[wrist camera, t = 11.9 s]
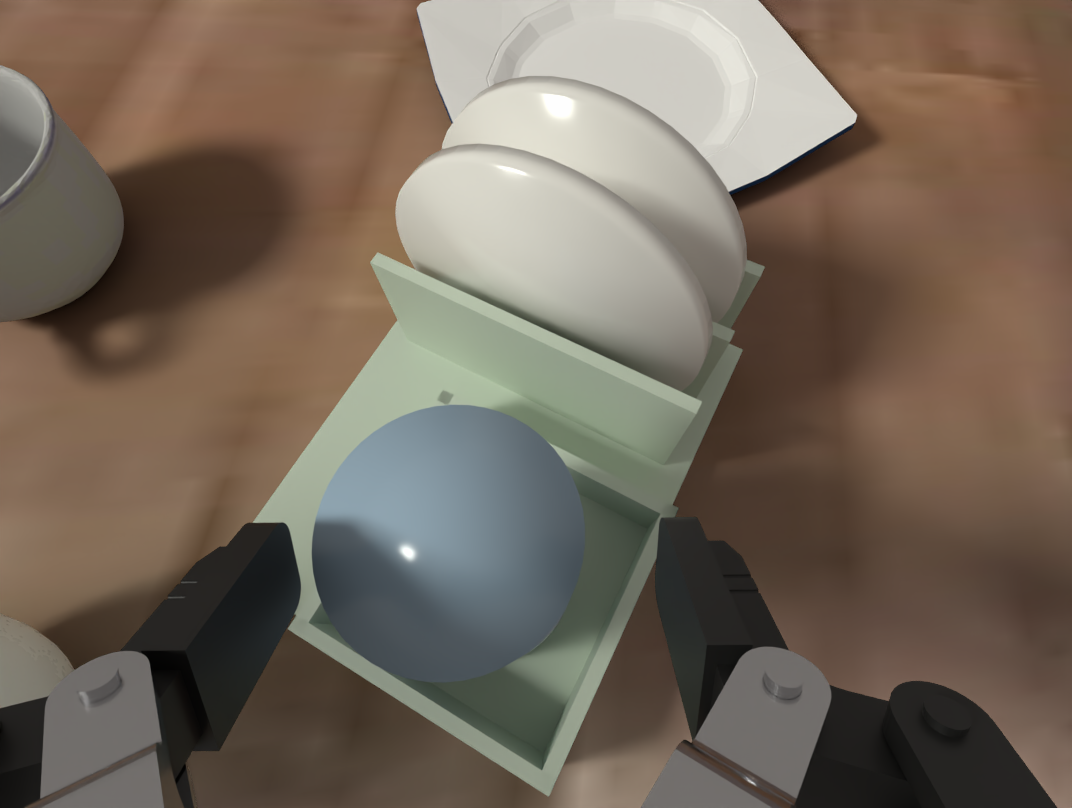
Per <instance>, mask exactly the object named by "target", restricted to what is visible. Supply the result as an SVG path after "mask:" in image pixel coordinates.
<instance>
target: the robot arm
mask: <svg viewBox="0 0 1072 808" xmlns="http://www.w3.org/2000/svg"><path fill="white" fill-rule="evenodd" d="M655 589H656V599H657V605H658V609H659V613H660V617H661V621H662V625H663V628H664V632H665V636H666V640H667V644H668V648H669V652H670V655H671V659H672V663H673V667H674V671H675V675H676V679H677V682H678V686H679V690H680V694H681V698H682V702H683V706H684V710H685V713H686V717H687V721H688V725H689V729H690V733H691V737H692V740H693V742H692V743H690V742H688V741H687V740H683V741H682V742H681V743H680V744H679V745H678V746H677V748H676V749H675V751H674V752H673V754H672V755H671V757H670V759H669V761H668V762H667V764H666V766H665V767H664V769H663V771H662V772H661V774H660V776H659V778H658V779H657V781H656V783H655V784H654V786H653V788H652V790H651V791H650V793H649V795H648V796H647V798H646V800H645V802H644V803H643V805H642V807H641V808H1057V807H1056V805H1055V804H1054V803H1053V801H1052V800H1051V799H1050V797H1049V796H1048V794H1047V793H1046V792H1045V790H1044V789H1043V788H1042V786H1041V785H1040V784H1039V782H1038V781H1037V780H1036V778H1035V777H1034V775H1033V774H1032V773H1031V771H1030V770H1029V769H1028V767H1027V766H1026V765H1025V763H1024V762H1023V760H1022V759H1021V758H1020V756H1019V755H1018V754H1017V752H1016V751H1015V750H1014V748H1013V747H1012V746H1011V744H1010V743H1009V741H1008V740H1007V739H1006V737H1005V736H1004V735H1003V733H1002V732H1001V731H1000V729H999V728H998V727H997V725H996V724H995V723H994V721H993V720H992V719H991V718H990V717H989V715H988V714H987V713H986V712H984V711H983V710H982V709H981V708H980V707H979V706H978V705H976V704H975V703H974V702H972V701H971V700H969V699H968V698H966V697H965V696H963V695H961V694H959V693H958V692H956V691H954V690H951V689H949V688H947V687H944V686H941V685H938V684H934V683H930V682H923V681H910V682H905V683H902V684H900V685H898V686H897V687H896V688H894V690H893V691H892V693H891V696H890V699H889V701H885V700H881V699H877V698H873V697H869V696H865V695H862V694H858V693H854V692H850V691H846V690H843V689H839V688H836V687H834V686H831V685H829V684H828V682H827V680H826V678H825V677H824V675H823V674H822V672H821V671H820V670H819V669H818V668H817V667H816V666H815V665H813V664H812V663H811V662H810V661H808V660H807V659H805V658H804V657H802V656H800V655H798V654H796V653H794V652H791V651H789V650H788V648H787V646H786V644H785V642H784V640H783V638H782V636H781V634H780V632H779V630H778V628H777V626H776V624H775V622H774V620H773V618H772V616H771V614H770V612H769V610H768V608H767V606H766V604H765V602H764V600H763V598H762V596H761V594H760V593H758V588H757V586H756V584H755V582H754V580H753V578H751V574H750V572H749V570H748V568H747V566H746V564H745V562H744V560H743V558H742V556H741V555H739V554H738V553H737V552H736V551H735V550H734V549H733V548H731V547H730V546H729V545H728V544H727V543H726V542H724V541H707V538H706V536H705V534H704V531H703V529H702V527H701V524H700V522H699V520H698V519H697V517H662V518H661V519H660V523H659V532H658V546H657V559H656V573H655ZM300 595H301V580H300V575H299V570H298V566H297V561H296V557H295V552H294V548H293V543H292V539H291V534H290V530H289V528H288V526H287V525H286V524H285V523H283V522H275V523H247V524H245V525H244V526H243V527H242V528H241V529H240V531H239V532H238V533H237V534H236V535H235V537H234V538H233V539H232V540H231V541H230V543H229V544H228V545H227V546H226V547H219V548H217V549H216V550H214V551H213V552H211V553H210V554H208V555H207V556H205V557H204V558H203V559H201V560H200V561H198V562H197V563H196V564H195V565H194V566H193V567H192V568H191V570H190V571H189V572H188V573H187V574H186V575H185V577H184V578H183V579H182V580H181V584H178V585H177V586H176V587H175V588H174V589H173V590H172V592H171V593H170V594H169V595H168V599H167V600H164V601H163V602H162V603H161V604H160V605H159V607H158V608H157V609H156V610H155V611H154V612H153V614H152V615H151V616H150V617H149V618H148V619H147V621H146V622H145V623H144V624H143V625H142V626H141V628H140V629H139V630H138V631H137V632H136V633H135V634H134V636H133V637H132V638H131V639H130V640H129V641H128V643H127V644H126V645H125V646H124V647H123V648H122V650H121V651H120V652H114V653H111V654H107V655H104V656H101V657H98V658H96V659H94V660H91V661H89V662H87V663H86V664H84V665H82V666H80V667H79V668H77V669H75V670H74V671H72V672H71V673H70V674H69V675H67V676H66V677H65V678H64V679H63V680H61V681H60V682H59V683H58V684H57V686H56V687H55V688H54V689H53V690H52V692H51V693H50V695H49V696H47V697H43V698H39V699H35V700H31V701H27V702H23V703H19V704H15V705H11V706H7V707H3V708H0V808H198V807H197V802H196V797H195V792H194V787H193V782H192V777H191V773H190V770H189V767H188V765H187V762H186V761H187V759H188V757H189V756H190V754H191V752H192V751H219V750H220V748H221V746H222V745H223V743H224V741H225V739H226V737H227V735H228V734H229V732H230V730H231V728H232V726H233V725H234V723H235V721H236V719H237V717H238V715H239V714H240V712H241V710H242V708H243V706H244V705H245V703H246V701H247V699H248V697H249V695H250V694H251V692H252V690H253V688H254V686H255V684H256V683H257V681H258V679H259V677H260V675H261V674H262V672H263V670H264V668H265V666H266V664H267V663H268V661H269V659H270V657H271V655H272V654H273V652H274V650H275V648H276V646H277V644H278V643H279V641H280V639H281V637H282V635H283V633H284V632H285V630H286V628H287V626H288V624H289V623H290V621H291V619H292V617H293V615H294V613H295V612H296V610H297V607H298V604H299V600H300Z"/></svg>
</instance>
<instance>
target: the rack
mask: <svg viewBox="0 0 1072 808" xmlns="http://www.w3.org/2000/svg"><path fill="white" fill-rule="evenodd" d="M370 263H371V265H372V267H373V270H374V272H375V274H376V276H377V278H378V280H379V282H380V284H381V286H382V288H383V290H384V292H385V295H386V297H387V299H388V301H389V303H390V305H391V307H392V309H393V311H394V313H395V315H396V318H397V322H396V323H395V324H394V326H393V327H392V329H391V330H390V331H389V333H388V334H387V336H386V337H385V338H384V340H383V341H382V343H381V344H380V345H379V347H378V348H377V350H376V351H375V352H374V354H373V355H372V357H371V358H370V359H369V361H368V362H367V364H366V365H365V366H364V368H363V369H362V371H361V372H360V373H359V375H358V376H357V378H356V379H355V380H354V382H353V383H352V385H351V386H350V387H349V389H348V390H347V392H346V393H345V394H344V396H343V397H342V399H341V400H340V401H339V403H338V404H337V405H336V407H335V408H334V410H333V411H332V412H331V414H330V415H329V417H328V418H327V419H326V421H325V422H324V424H323V425H322V426H321V428H320V429H319V431H318V432H317V433H316V435H315V436H314V438H313V439H312V440H311V442H310V443H309V445H308V446H307V447H306V449H305V450H304V452H303V453H302V454H301V456H300V457H299V459H298V460H297V461H296V463H295V464H294V466H293V467H292V468H291V470H290V471H289V473H288V474H287V475H286V477H285V478H284V480H283V481H282V482H281V484H280V485H279V487H278V488H277V489H276V491H275V492H274V494H273V495H272V496H271V498H270V499H269V501H268V502H267V503H266V505H265V506H264V507H263V509H262V510H261V512H260V513H259V514H258V516H257V517H256V519H255V520H254V521H253V523H275V522H283V523H285V524H286V525H287V526H288V528H289V530H290V534H291V539H292V543H293V548H294V552H295V557H296V561H297V566H298V570H299V575H300V580H301V595H300V600H299V604H298V607H297V610H296V612H295V613H294V614H295V615H296V617H295V618H294V620H293V621H292V623H291V624H290V626H289V628H288V630H290V631H291V632H293V633H294V634H296V635H298V636H299V637H301V638H302V639H304V640H305V641H307V642H308V643H310V644H312V645H313V646H315V647H316V648H318V649H319V650H321V651H322V652H324V653H326V654H327V655H329V656H330V657H332V658H333V659H335V660H336V661H338V662H340V663H341V664H343V665H344V666H346V667H347V668H349V669H351V670H352V671H354V672H355V673H357V674H358V675H360V676H361V677H363V678H365V679H366V680H368V681H369V682H371V683H372V684H374V685H375V686H377V687H379V688H380V689H382V690H383V691H385V692H386V693H388V694H389V695H391V696H393V697H394V698H396V699H397V700H399V701H400V702H402V703H403V704H405V705H407V706H408V707H410V708H411V709H413V710H414V711H416V712H418V713H419V714H421V715H422V716H424V717H425V718H427V719H428V720H430V721H432V722H433V723H435V724H436V725H438V726H439V727H441V728H442V729H444V730H446V731H447V732H449V733H450V734H452V735H453V736H455V737H456V738H458V739H460V740H461V741H463V742H464V743H466V744H467V745H469V746H470V747H472V748H474V749H475V750H477V751H478V752H480V753H481V754H483V755H485V756H486V757H488V758H489V759H491V760H492V761H494V762H495V763H497V764H499V765H500V766H502V767H503V768H505V769H506V770H508V771H509V772H511V773H513V774H514V775H516V776H517V777H519V778H520V779H522V780H523V781H525V782H527V783H528V784H530V785H531V786H533V787H534V788H536V789H537V790H539V791H541V792H542V793H544V794H545V795H547V796H548V797H549V795H550V793H551V791H552V789H553V786H554V784H555V782H556V780H557V778H558V775H559V773H560V771H561V769H562V766H563V764H564V762H565V760H566V758H567V755H568V753H569V751H570V749H571V746H572V744H573V742H574V740H575V738H576V735H577V733H578V731H579V729H580V726H581V724H582V722H583V720H584V718H585V715H586V713H587V711H588V709H589V707H590V704H591V702H592V700H593V698H594V695H595V693H596V691H597V689H598V687H599V684H600V682H601V680H602V678H603V675H604V673H605V671H606V669H607V667H608V664H609V662H610V660H611V658H612V655H613V653H614V651H615V649H616V647H617V644H618V642H619V640H620V638H621V635H622V633H623V631H624V629H625V627H626V624H627V622H628V620H629V618H630V615H631V613H632V611H633V609H634V607H635V604H636V602H637V600H638V598H639V595H640V593H641V591H642V589H643V587H644V584H645V582H646V580H647V578H648V575H649V573H650V571H651V569H652V567H653V564H654V562H655V560H656V558H657V546H658V532H659V523H660V519H661V518H662V517H675V516H676V513H677V511H678V509H679V508H678V507H676V506H674V505H673V502H674V500H675V498H676V496H677V494H678V492H679V489H680V487H681V485H682V483H683V481H684V478H685V476H686V474H687V472H688V470H689V467H690V465H691V463H692V461H693V459H694V456H695V454H696V452H697V450H698V448H699V445H700V443H701V441H702V439H703V437H704V434H705V432H706V430H707V428H708V426H709V423H710V421H711V419H712V417H713V415H714V412H715V410H716V408H717V406H718V404H719V401H720V399H721V397H722V395H723V393H724V390H725V388H726V386H727V384H728V382H729V380H730V377H731V375H732V373H733V371H734V369H735V366H736V364H737V362H738V360H739V358H740V355H741V353H742V351H743V349H740V348H738V347H736V346H734V345H731V344H729V343H730V341H731V339H732V337H733V335H734V332H735V331H734V330H732V329H731V327H732V326H733V324H734V322H735V320H736V319H737V317H738V315H739V313H740V312H741V310H742V308H743V306H744V305H745V303H746V301H747V299H748V298H749V296H750V294H751V292H752V291H753V289H754V287H755V286H756V284H757V282H758V280H759V279H760V277H761V275H762V272H763V270H764V268H765V267H764V266H762V265H759V264H757V263H754V262H752V261H749V260H747V263H746V268H745V274H744V277H743V280H742V282H741V285H740V287H739V290H738V292H737V294H736V296H735V298H734V300H733V302H732V304H731V307H730V308H729V309H728V311H727V312H726V314H725V315H724V317H723V318H722V319H721V320H720V321H719V322H718V323H715V322H713V321H712V325H713V335H712V343H711V347H710V349H709V352H708V354H707V357H706V359H705V361H704V363H703V365H702V367H701V369H700V371H699V373H698V375H697V376H696V378H695V379H694V380H693V382H692V383H691V384H690V385H689V386H688V387H686V388H685V389H684V390H682V391H678V390H676V389H674V388H672V387H669V386H667V385H665V384H663V383H661V382H658V381H656V380H654V379H652V378H650V377H648V376H645V375H643V374H641V373H639V372H637V371H635V370H632V369H630V368H628V367H626V366H624V365H621V364H619V363H617V362H615V361H613V360H611V359H608V358H606V357H604V356H602V355H600V354H597V353H595V352H593V351H591V350H589V349H587V348H584V347H582V346H580V345H578V344H576V343H574V342H571V341H569V340H567V339H565V338H563V337H560V336H558V335H556V334H554V333H552V332H550V331H547V330H545V329H543V328H541V327H539V326H537V325H534V324H532V323H530V322H528V321H526V320H523V319H521V318H519V317H517V316H515V315H513V314H510V313H508V312H506V311H504V310H502V309H499V308H497V307H495V306H493V305H491V304H489V303H486V302H484V301H482V300H480V299H478V298H476V297H473V296H471V295H469V294H467V293H465V292H462V291H460V290H458V289H456V288H454V287H452V286H449V285H447V284H445V283H443V282H441V281H439V280H436V279H434V278H432V277H430V276H428V275H425V274H423V273H421V272H419V271H417V270H415V269H412V268H410V267H408V266H406V265H404V264H401V263H399V262H397V261H395V260H393V259H391V258H388V257H386V256H384V255H382V254H380V253H377V254H376V255H375V257H374V258H373V259H372V261H371V262H370ZM443 405H471V406H478V407H485V408H488V409H492V410H495V411H499V412H502V413H504V414H506V415H509V416H511V417H513V418H516V419H517V420H519V421H521V422H522V423H524V424H526V425H528V426H529V427H530V428H532V429H533V430H534V431H536V432H537V433H538V434H539V435H541V436H542V437H543V438H544V439H545V440H546V441H547V442H548V443H549V444H550V445H551V446H552V447H553V448H554V449H555V451H556V452H557V453H558V455H559V456H560V457H561V459H562V460H563V461H564V463H565V465H566V467H567V468H568V470H569V472H570V474H571V475H572V478H573V480H574V482H575V485H576V487H577V490H578V493H579V496H580V500H581V504H582V508H583V515H584V522H585V548H584V556H583V563H582V567H581V571H580V574H579V578H578V582H577V584H576V586H575V589H574V591H573V594H572V596H571V599H570V601H569V603H568V605H567V608H566V610H565V612H564V614H563V617H562V619H561V620H560V622H559V624H558V626H557V627H556V628H555V630H554V631H553V632H552V634H551V635H550V636H549V637H548V638H547V639H546V640H545V641H544V642H543V643H542V644H540V645H539V646H538V647H536V648H535V649H534V650H532V651H530V652H529V653H527V654H525V655H523V656H522V657H520V658H518V659H517V660H515V661H513V662H511V663H510V664H508V665H506V666H505V667H503V668H501V669H498V670H496V671H493V672H491V673H489V674H486V675H484V676H480V677H476V678H472V679H468V680H464V681H455V682H445V683H441V682H423V681H418V680H413V679H407V678H404V677H401V676H398V675H395V674H392V673H390V672H387V671H385V670H383V669H381V668H380V667H378V666H376V665H374V664H372V663H370V662H369V661H368V660H366V659H365V658H364V657H362V656H361V655H360V654H358V653H357V652H356V651H355V650H354V649H353V648H352V647H351V646H350V645H349V644H348V643H347V642H346V641H345V640H344V639H343V638H342V637H341V635H340V634H339V633H338V631H337V630H336V629H335V627H334V626H333V625H332V623H331V621H330V619H329V617H328V615H327V614H326V612H325V610H324V608H323V605H322V603H321V600H320V597H319V595H318V592H317V588H316V584H315V579H314V574H313V566H312V536H313V530H314V525H315V519H316V516H317V512H318V509H319V506H320V503H321V500H322V498H323V495H324V493H325V491H326V489H327V486H328V484H329V483H330V481H331V479H332V478H333V476H334V474H335V473H336V471H337V469H338V468H339V467H340V465H341V464H342V463H343V461H344V460H345V459H346V458H347V456H348V455H349V454H350V453H351V452H352V451H353V450H354V449H355V448H356V447H357V446H358V445H359V444H360V443H361V442H362V441H363V440H364V439H366V438H367V437H368V436H369V435H371V434H372V433H373V432H374V431H376V430H378V429H379V428H381V427H382V426H384V425H385V424H387V423H389V422H391V421H393V420H395V419H397V418H399V417H401V416H403V415H406V414H409V413H412V412H414V411H417V410H421V409H425V408H430V407H434V406H443Z"/></svg>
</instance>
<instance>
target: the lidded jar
mask: <svg viewBox="0 0 1072 808" xmlns="http://www.w3.org/2000/svg"><path fill="white" fill-rule="evenodd" d="M72 671H74V668H73V667H72V665H71V663H70V661H69V660H68V658H67V657H66V656H65V654H64V653H63V652H62V651H61V650H60V649H59V648H58V646H57V645H56V644H55V643H53V642H52V641H50V640H49V639H48V638H46V637H45V636H44V635H42V634H41V633H40V632H38V631H37V630H35V629H34V628H33V627H31V626H29V625H27V624H25V623H22V622H20V621H18V620H16V619H13V618H11V617H8V616H5V615H3V614H0V708H3V707H7V706H11V705H15V704H19V703H23V702H27V701H31V700H35V699H39V698H43V697H47V696H49V695H50V693H51V692H52V690H53V689H54V688H55V687H56V686H57V684H58V683H59V682H60V681H61V680H63V679H64V678H65V677H66V676H67V675H69V674H70V673H71V672H72Z"/></svg>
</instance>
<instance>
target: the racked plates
mask: <svg viewBox="0 0 1072 808" xmlns="http://www.w3.org/2000/svg"><path fill="white" fill-rule="evenodd" d="M395 215H396V223H397V229H398V232H399V235H400V239H401V242H402V244H403V246H404V249H405V251H406V253H407V255H408V257H409V259H410V260H411V262H412V264H413V266H414V267H415V269H416V270H417V271H419V272H421V273H423V274H425V275H428V276H430V277H432V278H434V279H436V280H439V281H441V282H443V283H445V284H447V285H449V286H452V287H454V288H456V289H458V290H460V291H462V292H465V293H467V294H469V295H471V296H473V297H476V298H478V299H480V300H482V301H484V302H486V303H489V304H491V305H493V306H495V307H497V308H499V309H502V310H504V311H506V312H508V313H510V314H513V315H515V316H517V317H519V318H521V319H523V320H526V321H528V322H530V323H532V324H534V325H537V326H539V327H541V328H543V329H545V330H547V331H550V332H552V333H554V334H556V335H558V336H560V337H563V338H565V339H567V340H569V341H571V342H574V343H576V344H578V345H580V346H582V347H584V348H587V349H589V350H591V351H593V352H595V353H597V354H600V355H602V356H604V357H606V358H608V359H611V360H613V361H615V362H617V363H619V364H621V365H624V366H626V367H628V368H630V369H632V370H635V371H637V372H639V373H641V374H643V375H645V376H648V377H650V378H652V379H654V380H656V381H658V382H661V383H663V384H665V385H667V386H669V387H672V388H674V389H676V390H678V391H682V390H684V389H685V388H686V387H688V386H689V385H690V384H691V383H692V382H693V380H694V379H695V378H696V376H697V375H698V373H699V371H700V369H701V367H702V365H703V363H704V361H705V359H706V357H707V354H708V352H709V349H710V347H711V343H712V335H713V325H712V321H713V322H715V323H718V322H719V321H720V320H721V319H722V318H723V317H724V315H725V314H726V312H727V311H728V309H729V308H730V307H731V304H732V302H733V300H734V298H735V296H736V294H737V292H738V290H739V287H740V285H741V282H742V280H743V277H744V274H745V268H746V263H747V244H746V238H745V233H744V228H743V224H742V221H741V218H740V216H739V213H738V210H737V207H736V205H735V203H734V201H733V199H732V197H731V195H730V194H729V192H728V190H727V188H726V186H725V185H724V183H723V182H722V180H721V179H720V177H719V176H718V175H717V173H716V172H715V170H714V169H713V167H712V166H711V165H710V164H709V163H708V161H707V160H706V159H705V158H704V157H703V156H702V155H701V154H700V153H699V151H698V150H697V149H696V148H695V147H694V146H693V145H692V144H691V143H690V142H689V141H688V140H686V139H685V138H684V137H683V136H682V135H681V134H680V133H679V132H677V131H676V130H675V129H674V128H673V127H672V126H670V125H669V124H667V123H666V122H665V121H663V120H662V119H660V118H659V117H658V116H656V115H655V114H653V113H652V112H650V111H649V110H647V109H645V108H643V107H642V106H640V105H638V104H636V103H635V102H633V101H631V100H629V99H627V98H626V97H623V96H621V95H619V94H616V93H614V92H611V91H609V90H607V89H604V88H602V87H599V86H596V85H592V84H589V83H585V82H582V81H578V80H574V79H568V78H561V77H555V76H526V77H519V78H512V79H508V80H505V81H502V82H500V83H497V84H494V85H492V86H490V87H488V88H487V89H485V90H483V91H482V92H480V93H478V94H477V95H476V96H475V97H474V98H473V99H472V100H471V101H470V102H469V103H468V104H467V105H466V106H465V108H464V109H463V110H462V111H461V113H460V114H459V115H458V117H457V118H456V119H455V121H454V122H453V123H452V125H451V126H450V128H449V129H448V131H447V134H446V136H445V139H444V141H443V144H442V150H440V151H438V152H436V153H434V154H432V155H430V156H429V157H428V158H426V159H425V160H424V161H423V162H422V163H421V164H420V165H419V166H418V167H417V169H416V170H415V171H414V172H413V174H412V175H411V176H410V177H409V179H408V180H407V181H406V183H405V184H404V186H403V187H402V189H401V190H400V192H399V195H398V198H397V202H396V214H395Z"/></svg>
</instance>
